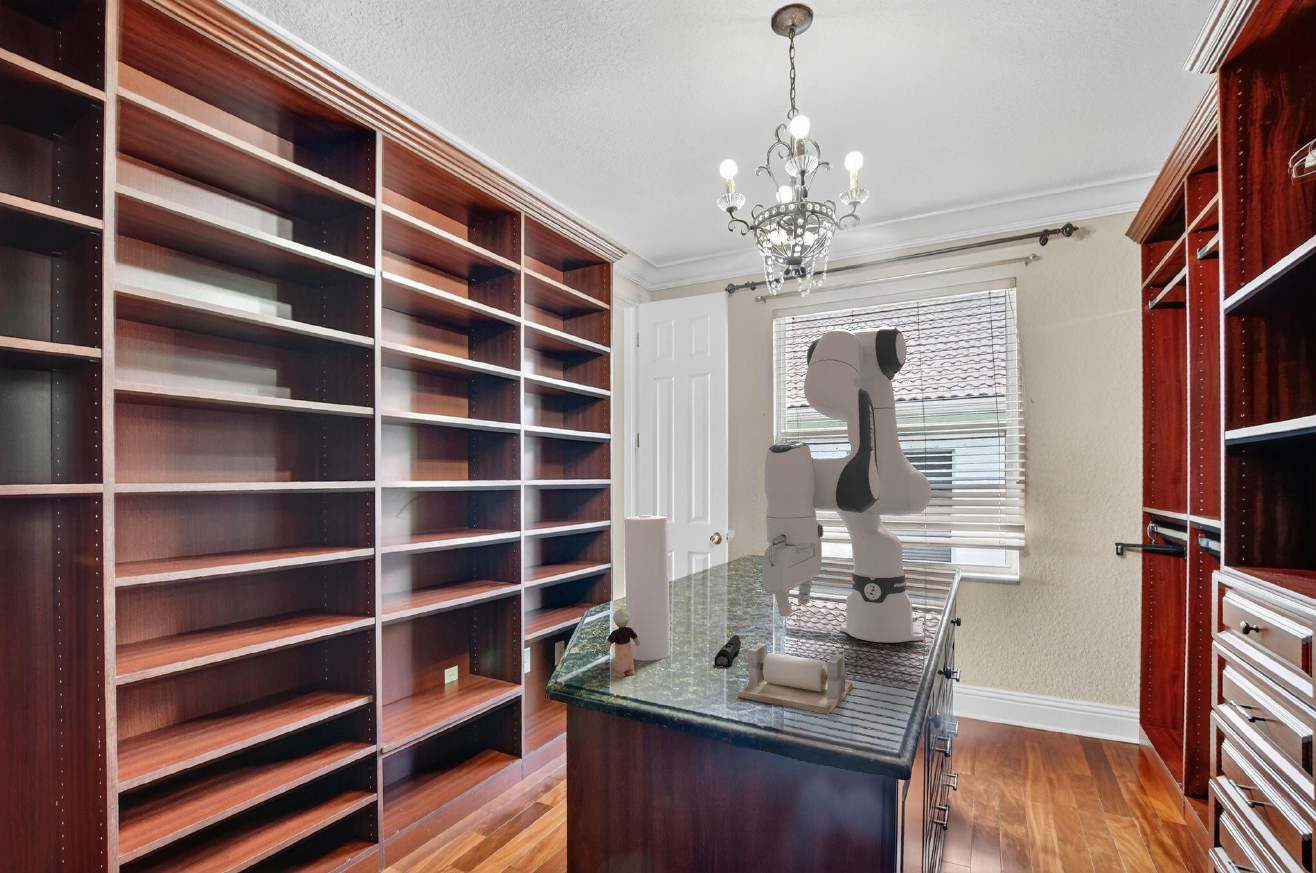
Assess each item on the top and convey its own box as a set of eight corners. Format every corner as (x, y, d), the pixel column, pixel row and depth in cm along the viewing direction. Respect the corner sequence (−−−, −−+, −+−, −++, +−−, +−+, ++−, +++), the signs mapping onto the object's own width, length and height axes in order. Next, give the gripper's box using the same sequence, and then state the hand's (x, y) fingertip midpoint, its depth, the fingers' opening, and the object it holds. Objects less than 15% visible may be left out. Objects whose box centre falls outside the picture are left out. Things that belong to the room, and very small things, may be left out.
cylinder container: (619, 658, 135) (617, 516, 137) (637, 646, 144) (635, 513, 145) (660, 662, 132) (657, 517, 133) (676, 649, 140) (673, 513, 142)
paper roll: (766, 688, 115) (759, 668, 113) (774, 665, 119) (768, 646, 116) (823, 699, 109) (817, 678, 107) (830, 674, 113) (825, 654, 111)
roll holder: (769, 673, 123) (768, 637, 123) (852, 687, 114) (851, 648, 115) (738, 696, 111) (737, 656, 111) (828, 714, 102) (827, 670, 103)
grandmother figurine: (630, 667, 128) (629, 604, 129) (643, 671, 126) (641, 607, 126) (600, 677, 123) (599, 611, 124) (613, 681, 120) (612, 614, 121)
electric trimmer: (745, 648, 142) (744, 634, 142) (731, 669, 127) (730, 653, 127) (728, 647, 143) (728, 633, 143) (713, 667, 128) (712, 651, 128)
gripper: (787, 540, 103) (791, 625, 103) (826, 525, 121) (829, 599, 120) (751, 538, 107) (755, 621, 106) (794, 525, 124) (797, 596, 124)
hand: (795, 609), depth 114 cm, fingers open, 8 cm apart
